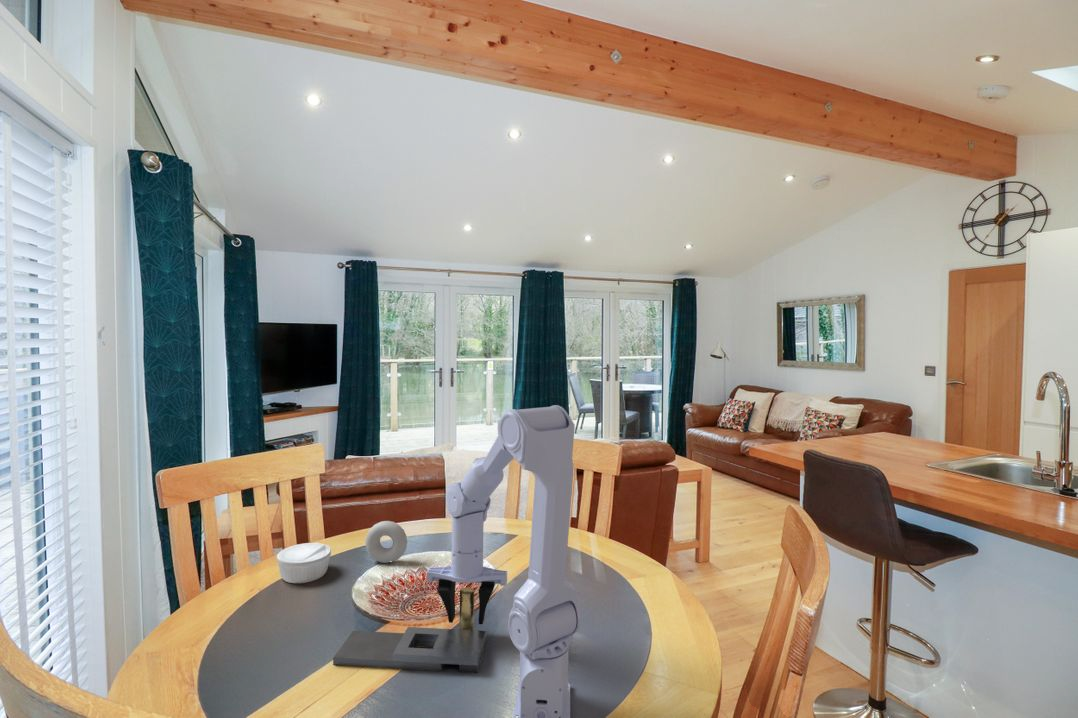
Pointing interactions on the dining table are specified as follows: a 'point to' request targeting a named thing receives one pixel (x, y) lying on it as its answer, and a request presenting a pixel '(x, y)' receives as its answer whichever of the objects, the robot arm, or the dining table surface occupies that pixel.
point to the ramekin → (303, 562)
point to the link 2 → (443, 647)
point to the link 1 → (378, 651)
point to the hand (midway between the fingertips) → (466, 620)
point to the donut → (378, 550)
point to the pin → (466, 609)
